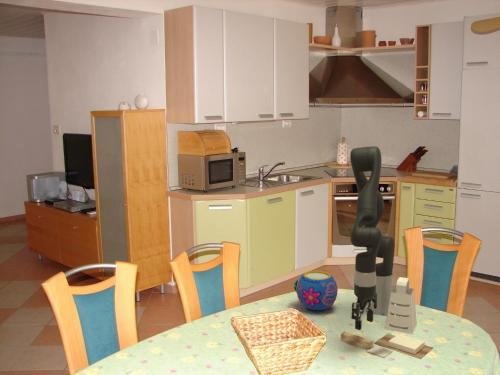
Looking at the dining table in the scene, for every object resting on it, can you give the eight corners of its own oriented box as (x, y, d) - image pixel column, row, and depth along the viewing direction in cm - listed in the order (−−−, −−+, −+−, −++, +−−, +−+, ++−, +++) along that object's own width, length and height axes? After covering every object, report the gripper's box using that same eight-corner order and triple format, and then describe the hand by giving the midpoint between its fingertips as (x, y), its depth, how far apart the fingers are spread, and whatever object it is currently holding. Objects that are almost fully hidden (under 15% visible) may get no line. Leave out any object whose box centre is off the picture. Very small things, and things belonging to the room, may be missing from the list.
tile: (398, 333, 196) (424, 341, 189) (398, 338, 196) (424, 346, 190) (388, 341, 190) (415, 349, 183) (388, 346, 190) (414, 354, 184)
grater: (384, 331, 205) (386, 282, 202) (390, 321, 214) (391, 274, 211) (412, 336, 200) (415, 286, 197) (416, 326, 210) (419, 277, 206)
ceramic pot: (314, 297, 241) (314, 265, 238) (345, 308, 228) (346, 275, 225) (287, 307, 229) (287, 274, 227) (319, 319, 216) (319, 284, 214)
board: (387, 336, 201) (387, 333, 201) (433, 350, 189) (433, 347, 189) (373, 346, 193) (373, 343, 193) (420, 361, 181) (420, 359, 181)
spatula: (338, 343, 194) (338, 335, 193) (346, 337, 198) (347, 329, 198) (384, 359, 182) (384, 350, 181) (392, 353, 186) (392, 344, 186)
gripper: (365, 274, 194) (364, 316, 197) (345, 285, 184) (344, 329, 186) (384, 278, 189) (383, 321, 192) (364, 290, 179) (363, 335, 182)
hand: (364, 325), depth 189 cm, fingers open, 8 cm apart
